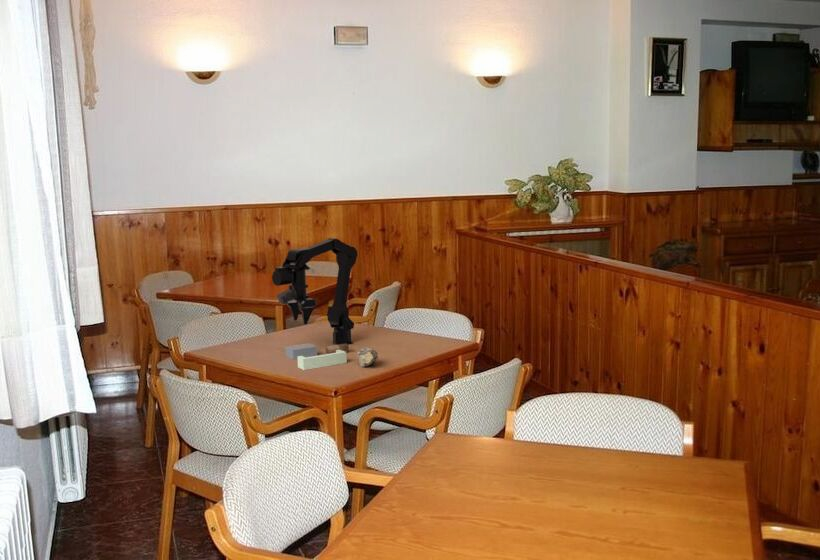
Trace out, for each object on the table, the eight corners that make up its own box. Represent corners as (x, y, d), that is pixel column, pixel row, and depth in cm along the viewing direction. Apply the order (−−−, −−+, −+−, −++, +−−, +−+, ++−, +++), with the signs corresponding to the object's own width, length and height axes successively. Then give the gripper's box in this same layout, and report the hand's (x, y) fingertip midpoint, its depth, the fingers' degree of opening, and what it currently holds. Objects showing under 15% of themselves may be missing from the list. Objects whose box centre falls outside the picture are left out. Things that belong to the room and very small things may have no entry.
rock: (369, 353, 293) (385, 344, 301) (343, 350, 300) (359, 341, 308) (372, 372, 295) (387, 362, 303) (346, 368, 301) (362, 358, 309)
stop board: (340, 360, 310) (339, 349, 309) (346, 362, 305) (346, 352, 305) (297, 367, 300) (297, 356, 300) (303, 370, 296) (303, 359, 296)
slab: (309, 353, 323) (309, 343, 323) (317, 356, 317) (317, 346, 317) (285, 356, 318) (285, 346, 317) (293, 360, 312) (292, 350, 311)
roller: (343, 349, 325) (344, 341, 323) (348, 353, 322) (349, 345, 321) (325, 352, 320) (326, 344, 319) (329, 356, 318) (330, 348, 316)
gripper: (269, 281, 323) (271, 321, 325) (288, 287, 307) (290, 329, 309) (295, 278, 328) (297, 317, 331) (316, 284, 313) (318, 325, 315)
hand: (300, 322), depth 321 cm, fingers open, 9 cm apart
